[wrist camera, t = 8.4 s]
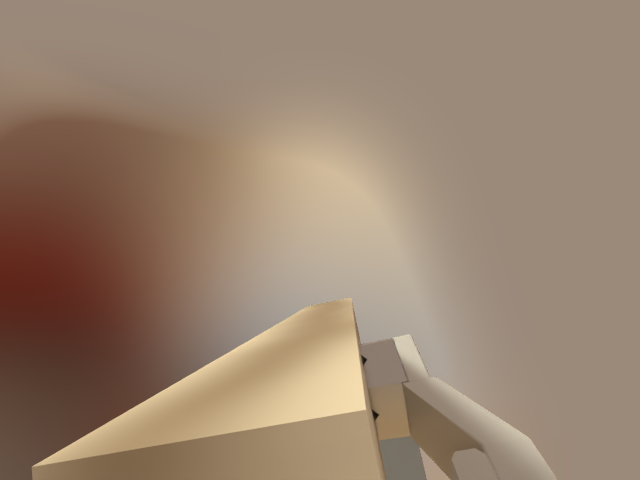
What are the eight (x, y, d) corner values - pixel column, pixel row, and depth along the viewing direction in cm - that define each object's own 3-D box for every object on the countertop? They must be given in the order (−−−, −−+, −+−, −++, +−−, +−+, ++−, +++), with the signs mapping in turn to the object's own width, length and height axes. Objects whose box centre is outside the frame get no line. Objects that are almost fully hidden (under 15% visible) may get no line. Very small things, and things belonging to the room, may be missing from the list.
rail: (50, 832, 3) (32, 466, 3) (315, 344, 24) (308, 305, 25) (445, 798, 3) (365, 408, 3) (359, 335, 24) (351, 297, 25)
